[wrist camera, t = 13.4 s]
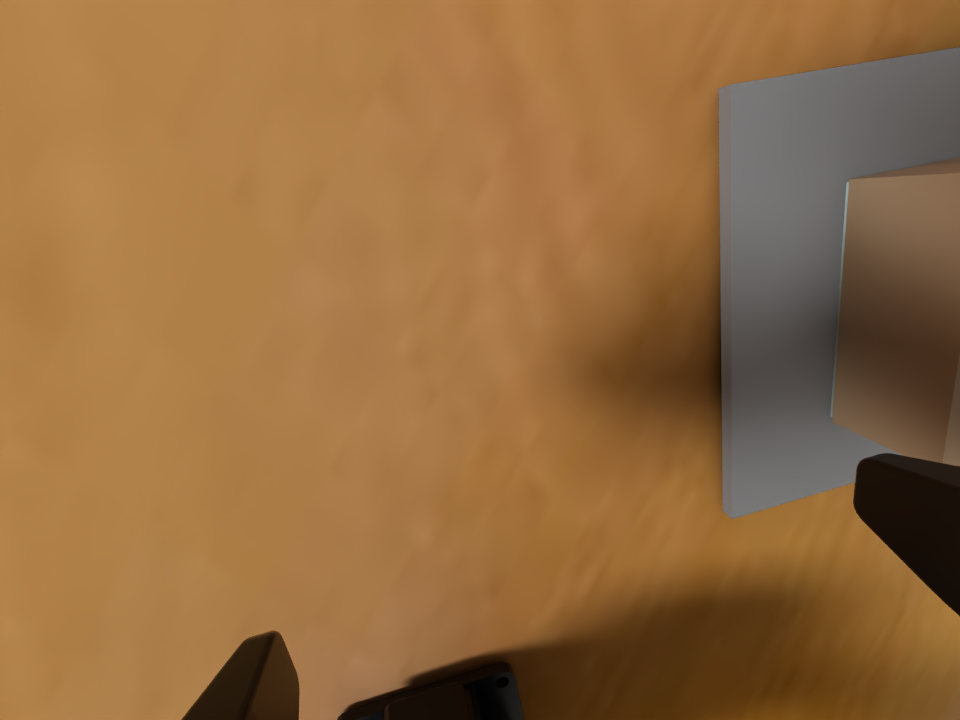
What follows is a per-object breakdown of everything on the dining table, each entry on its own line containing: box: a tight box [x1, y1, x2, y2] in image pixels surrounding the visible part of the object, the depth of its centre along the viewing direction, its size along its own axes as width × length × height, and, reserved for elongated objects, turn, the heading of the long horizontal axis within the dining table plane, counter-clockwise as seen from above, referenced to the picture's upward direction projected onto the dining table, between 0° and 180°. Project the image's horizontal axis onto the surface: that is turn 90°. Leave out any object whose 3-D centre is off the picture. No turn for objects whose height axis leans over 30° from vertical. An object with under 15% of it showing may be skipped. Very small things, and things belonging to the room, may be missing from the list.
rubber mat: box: [719, 47, 960, 519], centre depth 16 cm, size 14×12×1 cm
